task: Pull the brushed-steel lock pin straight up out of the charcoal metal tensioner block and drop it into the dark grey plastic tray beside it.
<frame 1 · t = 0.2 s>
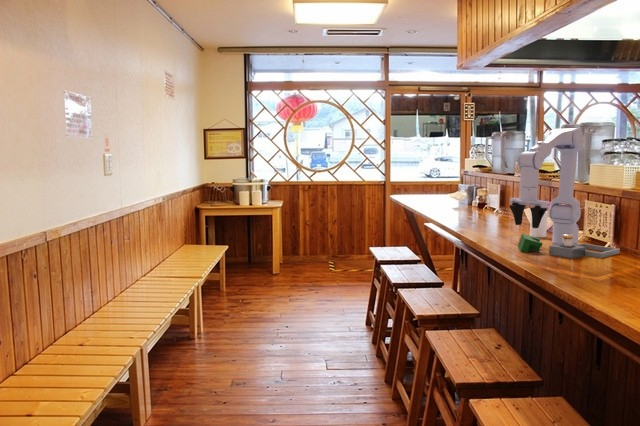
hand: (526, 226, 170), 10 cm above the table, tool pointing down, fingers open, 7 cm apart
tensioner block: (566, 257, 167), on the table
candle: (537, 236, 208), on the table
tray: (590, 255, 171), on the table
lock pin: (566, 255, 167), point 1 cm above the table, touching tensioner block
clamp: (529, 253, 176), on the table
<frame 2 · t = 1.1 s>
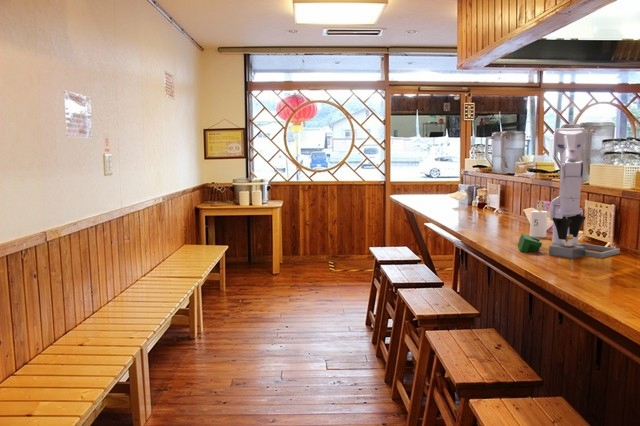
hand: (567, 238, 166), 7 cm above the table, tool pointing down, fingers open, 7 cm apart
nothing on the table moved.
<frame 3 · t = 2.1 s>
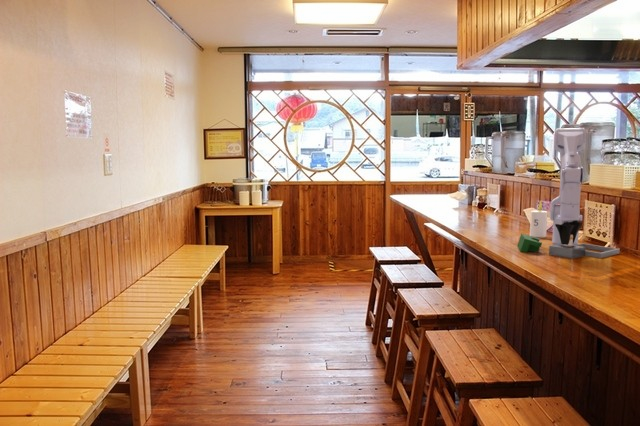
hand: (567, 243, 166), 5 cm above the table, tool pointing down, fingers closed on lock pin, 3 cm apart
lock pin: (566, 255, 167), point 1 cm above the table, touching gripper, tensioner block
everything else where it was.
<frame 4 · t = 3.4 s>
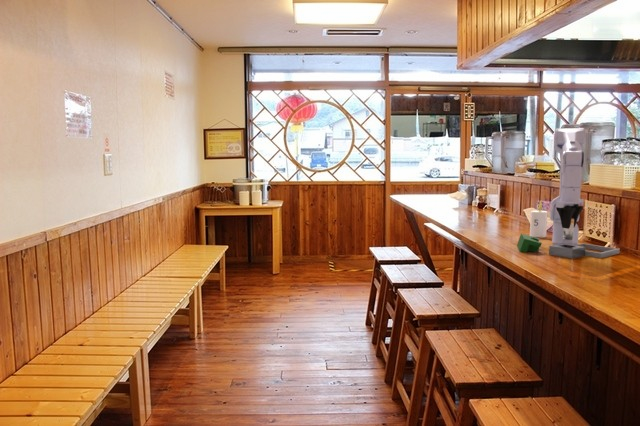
hand: (568, 227, 165), 10 cm above the table, tool pointing down, fingers closed on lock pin, 3 cm apart
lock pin: (567, 239, 166), point 6 cm above the table, touching gripper
everything else where it was.
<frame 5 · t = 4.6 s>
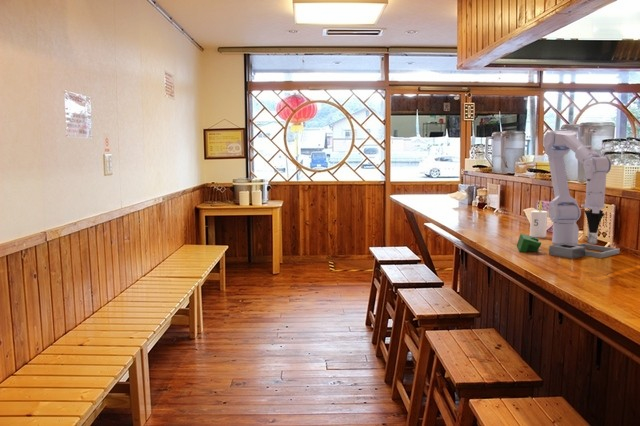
hand: (592, 231, 170), 8 cm above the table, tool pointing down, fingers closed on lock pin, 3 cm apart
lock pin: (591, 243, 170), point 4 cm above the table, touching gripper
everything else where it was.
when the fingers open (6 cm above the table, at t = 5.2 s): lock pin drops 2 cm, resting on tray.
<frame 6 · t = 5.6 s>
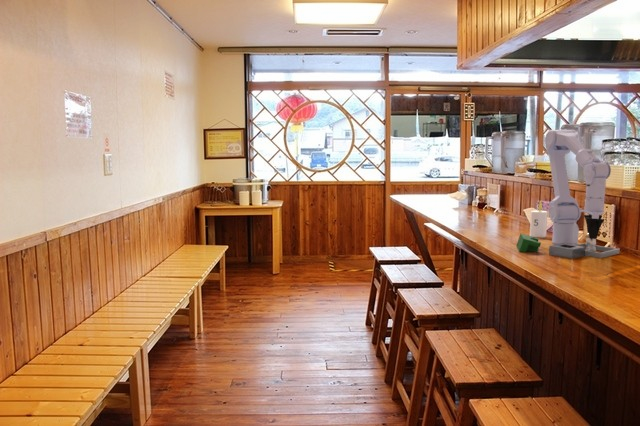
hand: (592, 236, 170), 6 cm above the table, tool pointing down, fingers open, 6 cm apart
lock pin: (591, 253, 171), point 1 cm above the table, touching tray
everything else where it was.
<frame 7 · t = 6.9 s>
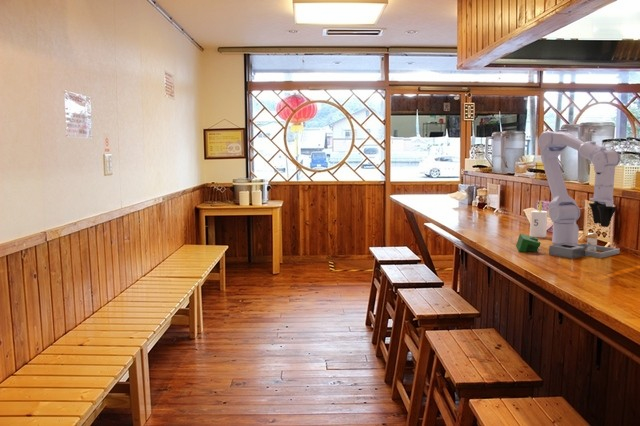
hand: (601, 224, 171), 10 cm above the table, tool pointing down, fingers open, 7 cm apart
nothing on the table moved.
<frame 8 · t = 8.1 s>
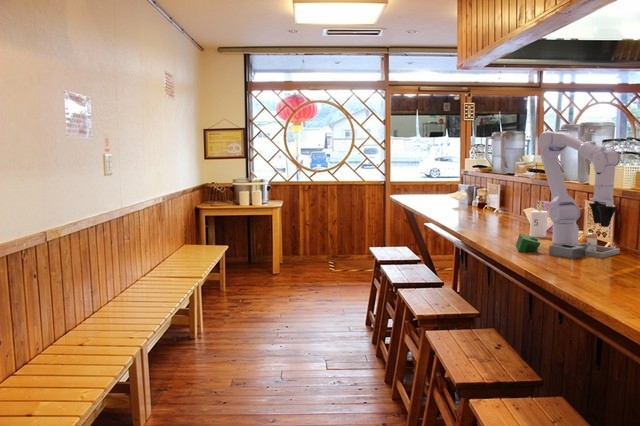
hand: (601, 224, 171), 10 cm above the table, tool pointing down, fingers open, 7 cm apart
nothing on the table moved.
at the end: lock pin inside the target area on the tray (0.0 cm from its centre), point 0.6 cm above the tray's base; the gripper is holding nothing; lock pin moved 11.3 cm from its start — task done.
